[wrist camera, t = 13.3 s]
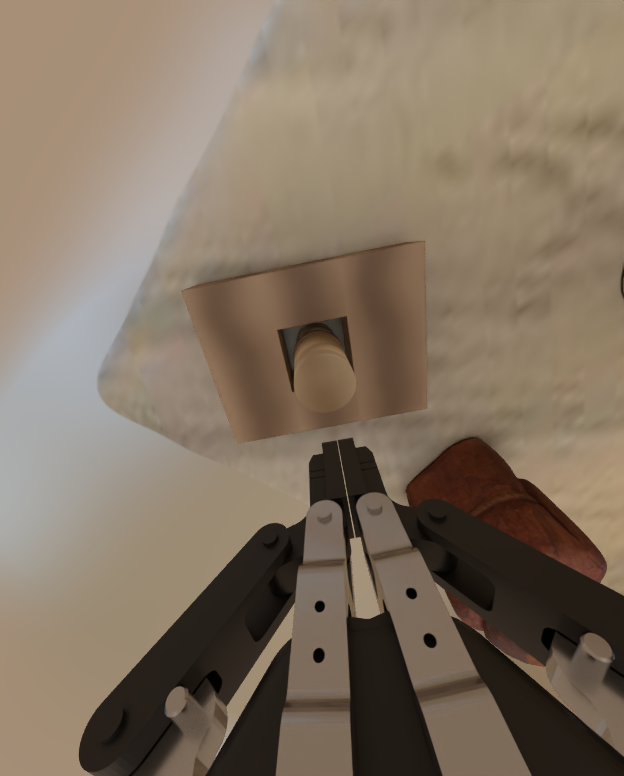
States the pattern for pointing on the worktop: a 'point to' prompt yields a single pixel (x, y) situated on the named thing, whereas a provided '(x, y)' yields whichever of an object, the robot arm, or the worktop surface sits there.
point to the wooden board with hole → (309, 305)
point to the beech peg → (322, 370)
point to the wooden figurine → (504, 518)
